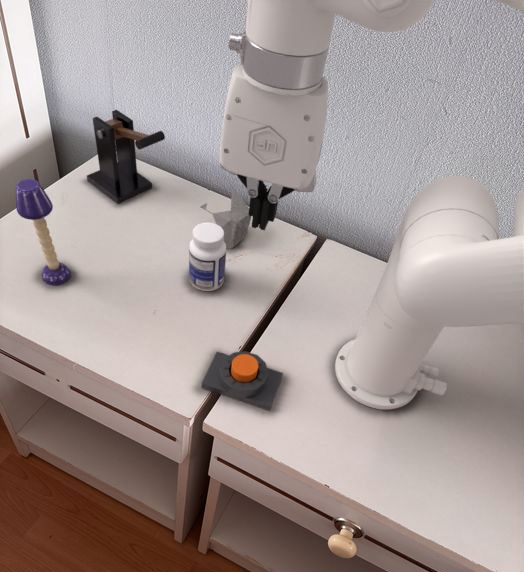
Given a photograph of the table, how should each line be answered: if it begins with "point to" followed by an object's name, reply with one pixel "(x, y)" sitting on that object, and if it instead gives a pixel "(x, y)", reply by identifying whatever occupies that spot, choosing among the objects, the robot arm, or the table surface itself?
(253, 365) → the button
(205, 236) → the pill bottle
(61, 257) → the table surface
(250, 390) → the button box
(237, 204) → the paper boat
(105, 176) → the bracket
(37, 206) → the toy lamp
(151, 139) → the lever
